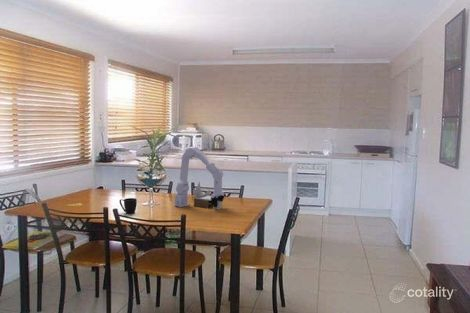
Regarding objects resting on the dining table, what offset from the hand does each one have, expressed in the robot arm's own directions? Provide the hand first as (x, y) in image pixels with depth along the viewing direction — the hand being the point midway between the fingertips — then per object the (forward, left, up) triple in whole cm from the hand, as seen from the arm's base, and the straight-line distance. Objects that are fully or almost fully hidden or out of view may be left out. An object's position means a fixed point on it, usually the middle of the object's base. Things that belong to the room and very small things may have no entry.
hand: (217, 206), depth 290 cm
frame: (+5, +12, -1) cm, 14 cm away
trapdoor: (+5, +12, +4) cm, 14 cm away
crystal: (+19, +28, -2) cm, 33 cm away
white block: (0, 0, -2) cm, 2 cm away
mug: (-45, +42, -2) cm, 62 cm away
